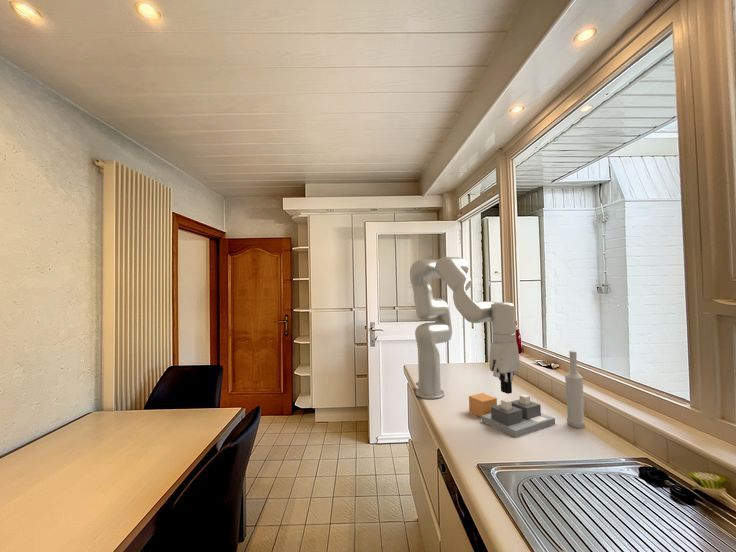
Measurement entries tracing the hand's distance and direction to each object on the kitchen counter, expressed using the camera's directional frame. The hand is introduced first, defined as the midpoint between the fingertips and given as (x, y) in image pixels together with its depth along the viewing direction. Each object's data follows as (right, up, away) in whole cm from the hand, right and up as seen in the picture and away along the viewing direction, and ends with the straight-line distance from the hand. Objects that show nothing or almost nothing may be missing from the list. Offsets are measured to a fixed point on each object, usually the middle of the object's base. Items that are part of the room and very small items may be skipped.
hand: (506, 392), depth 111 cm
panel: (+5, -12, +2) cm, 13 cm away
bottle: (+23, -11, -1) cm, 26 cm away
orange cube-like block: (-4, -12, +11) cm, 17 cm away
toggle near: (0, -7, 0) cm, 7 cm away
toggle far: (+9, -7, +4) cm, 12 cm away
